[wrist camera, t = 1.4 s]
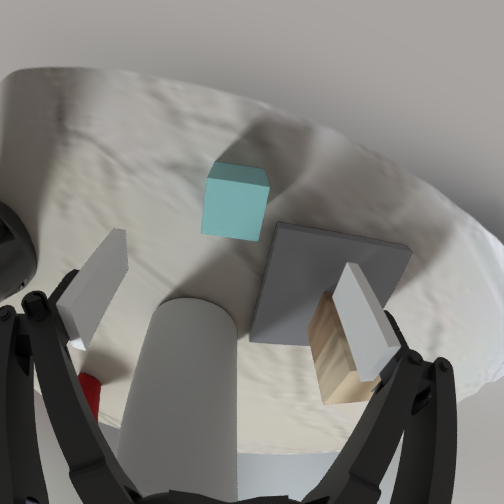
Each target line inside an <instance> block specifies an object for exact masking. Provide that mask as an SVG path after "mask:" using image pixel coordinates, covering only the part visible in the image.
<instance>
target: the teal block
mask: <svg viewBox="0 0 504 504" xmlns="http://www.w3.org/2000/svg"><path fill="white" fill-rule="evenodd" d="M269 189H270V186H269V182H268V179H267V176H266V172H265V169H260V168H255V167H248V166H242V165H236V164H229V163H222V162H214V164H213V166H212V168H211V170H210V173H209V175H208V177H207V182H206V190H205V199H204V207H203V216H202V225H201V234H208V235H215V236H222V237H230V238H237V239H244V240H250V241H257V242H258V240H259V235H260V230H261V226H262V221H263V217H264V212H265V208H266V203H267V198H268V194H269Z"/></svg>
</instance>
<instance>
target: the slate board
mask: <svg viewBox="0 0 504 504" xmlns="http://www.w3.org/2000/svg"><path fill="white" fill-rule="evenodd" d="M412 253H413V252H412V250H411V249H410V248H409V247H408V246H405V245H400V244H395V243H390V242H385V241H380V240H375V239H370V238H365V237H359V236H354V235H349V234H343V233H338V232H333V231H327V230H321V229H316V228H310V227H304V226H298V225H292V224H286V223H280V222H277V225H276V229H275V234H274V238H273V242H272V246H271V250H270V254H269V258H268V262H267V266H266V270H265V274H264V277H263V281H262V285H261V289H260V293H259V297H258V301H257V305H256V309H255V312H254V316H253V320H252V324H251V328H250V331H249V342H256V343H268V344H283V345H302V346H310V342H309V338H308V334H307V328H308V325H309V323H310V321H311V319H312V317H313V314H314V312H315V310H316V308H317V305H318V303H319V301H320V298H321V296H322V294H323V292H332V293H334V291H335V289H336V287H337V285H338V282H339V280H340V278H341V275H342V273H343V271H344V268H345V266H346V263H347V262H349V263H356V264H358V265H359V267H360V269H361V270H362V272H363V274H364V276H365V277H366V279H367V281H368V283H369V285H370V286H371V288H372V290H373V292H374V294H375V296H376V297H377V299H378V301H379V303H380V305H381V307H382V309H383V308H384V306H385V305H386V303H387V301H388V299H389V298H390V296H391V294H392V292H393V290H394V289H395V287H396V285H397V283H398V281H399V279H400V277H401V275H402V273H403V271H404V269H405V267H406V265H407V263H408V261H409V259H410V257H411V255H412Z"/></svg>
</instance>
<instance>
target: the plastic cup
mask: <svg viewBox="0 0 504 504" xmlns="http://www.w3.org/2000/svg"><path fill="white" fill-rule="evenodd" d="M77 377H78V380H79V382H80V385H81V388H82V390H83V393H84V395H85V397H86V400H87V402H88V404H89V407H90V409H91V411H92V413H93V416H94V418H95V420H96V422H97V424H98V411H99V402H100V391H101V384H100V382H99V381H98V380H97V379H96V378H94V377H92V376H91V375H88V374H86V373H80V374H79V375H78V376H77Z"/></svg>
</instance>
